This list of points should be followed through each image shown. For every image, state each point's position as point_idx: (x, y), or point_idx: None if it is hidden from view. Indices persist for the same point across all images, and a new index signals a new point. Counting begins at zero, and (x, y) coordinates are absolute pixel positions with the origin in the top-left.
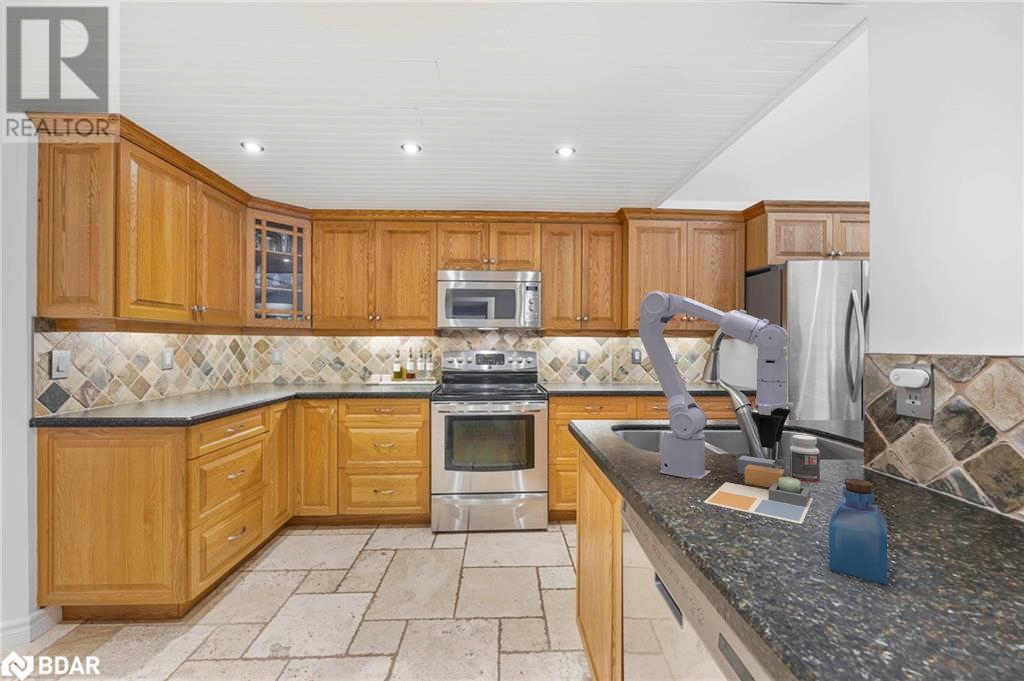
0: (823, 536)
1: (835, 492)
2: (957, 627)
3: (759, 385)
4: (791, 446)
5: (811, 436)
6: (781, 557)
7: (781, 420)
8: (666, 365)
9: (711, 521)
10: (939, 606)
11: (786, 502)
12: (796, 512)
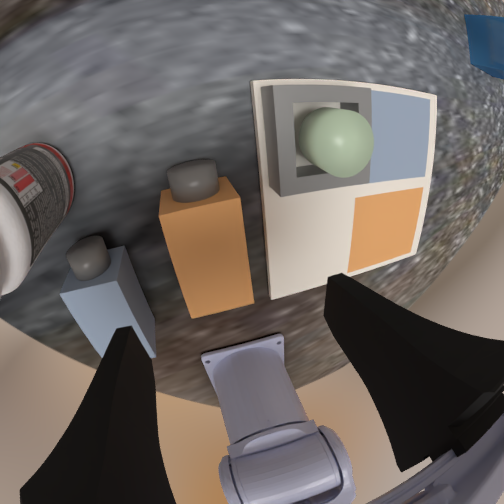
0: (441, 65)
1: (83, 68)
2: (499, 13)
3: None
4: (8, 290)
5: None
6: (493, 119)
7: (120, 459)
8: None
9: (454, 212)
10: (489, 8)
11: None
12: (395, 105)
